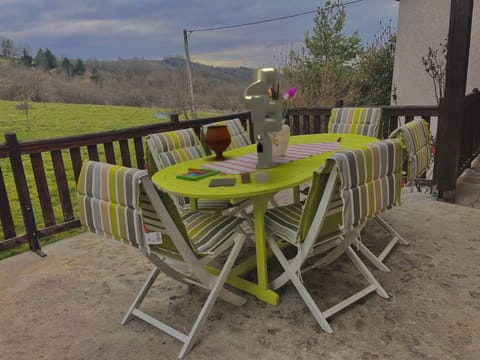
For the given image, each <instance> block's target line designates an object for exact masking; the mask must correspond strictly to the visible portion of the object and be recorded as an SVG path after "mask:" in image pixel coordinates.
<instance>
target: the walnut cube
mask: <svg viewBox="0 0 480 360" xmlns="http://www.w3.org/2000/svg"><path fill="white" fill-rule="evenodd" d="M251 179H252V178H251V172H250V171H249V172H241V173H240V181H241V183H243V184H252V183H251Z"/></svg>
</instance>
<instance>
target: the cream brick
mask: <svg viewBox="0 0 480 360" xmlns="http://www.w3.org/2000/svg"><path fill="white" fill-rule="evenodd" d="M258 182H263V183H270V180H269V171H255V183H256V184H258Z"/></svg>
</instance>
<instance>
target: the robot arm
mask: <svg viewBox="0 0 480 360" xmlns="http://www.w3.org/2000/svg"><path fill="white" fill-rule="evenodd" d="M250 81H251V84H250V85H249V86H248V87H247V88H246V89H245V90H244V92H243V98H242V103H243V108H244V109H245V110H250V115H251V116H250V117H251V123H253V139H254V142H256V153H257V164H255V167H256V168H258V169H271V168H275V167H276V164H275V163H274V162H273V159H274V158H273V141H272V140H273V139H272V137H271V136H270V135H269V134H268V133H281V131H282V130H283V106H282V102H281V101H280V100H279V99H270V91H269V90H268V86H272V85H278V83H279V81H280V74H279V71H278V68H277V67H276V66H275V67H274V66H265V67H257V68H256V69H254V71H253V72H252V73H251V75H250ZM266 116H271V117H266ZM272 116H273V117H272Z"/></svg>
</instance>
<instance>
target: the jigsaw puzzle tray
mask: <svg viewBox="0 0 480 360" xmlns="http://www.w3.org/2000/svg"><path fill="white" fill-rule="evenodd" d="M187 171H188V172H187V173H181V174H178V175H176V176H175V177H176V179H177V180H182V181H183V180H184V181H189V182H198V181H201V180H204V179H208V178H210V177H213V176H217V175H220V174H222V170H219V169H212V168H205V167H202V168H197V167H196V168H195V167H188V168H187ZM219 173H220V174H219Z"/></svg>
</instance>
